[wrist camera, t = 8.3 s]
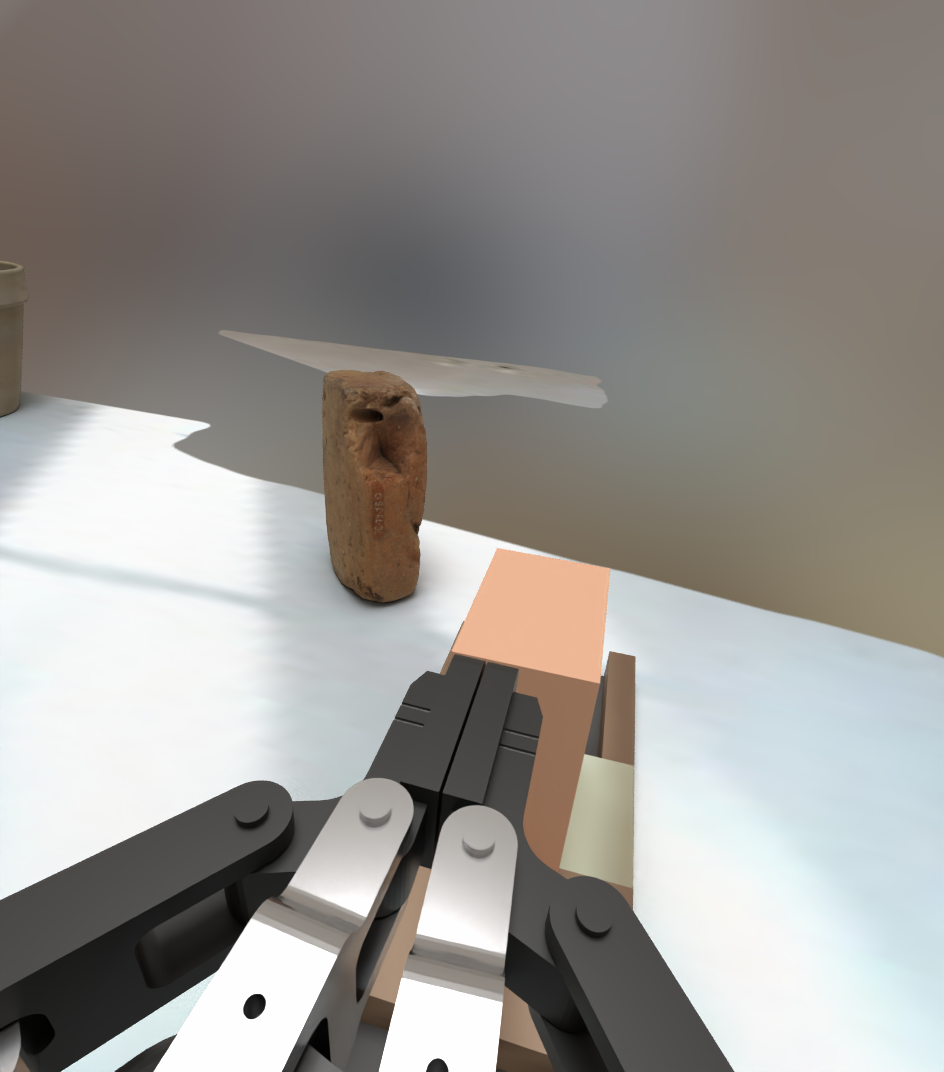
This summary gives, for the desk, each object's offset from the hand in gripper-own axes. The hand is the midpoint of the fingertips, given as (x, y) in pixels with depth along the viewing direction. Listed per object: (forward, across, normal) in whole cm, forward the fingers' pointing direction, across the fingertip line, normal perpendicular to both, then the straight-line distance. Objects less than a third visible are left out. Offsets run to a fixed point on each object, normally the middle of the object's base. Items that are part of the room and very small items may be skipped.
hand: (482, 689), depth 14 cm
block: (+36, +17, +24) cm, 47 cm away
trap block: (+12, -1, +20) cm, 24 cm away
